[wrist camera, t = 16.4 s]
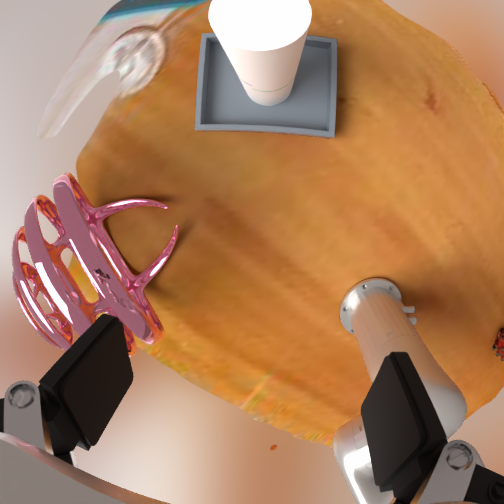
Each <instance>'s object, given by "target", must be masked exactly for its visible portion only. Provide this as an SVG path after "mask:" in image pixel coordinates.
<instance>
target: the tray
mask: <svg viewBox="0 0 504 504" xmlns="http://www.w3.org/2000/svg"><path fill="white" fill-rule="evenodd" d="M336 92H337V39H332V38H326V37H318V36H310V35H307V36H306V40H305V43H304V47H303V50H302V54H301V57H300V61H299V65H298V68H297V72H296V75H295V79H294V82H293V86H292V90H291V92H290V95H289V96H288V98H287V99H286V100H285V101H283V102H282V103H280V104H277V105H273V106H264V105H260V104H258V103H256V102H254V101H253V100H252V99H251V98H250V97H249V96H248V94H247V92H246V90H245V89H244V87H243V85H242V83H241V81H240V79H239V77H238V75H237V73H236V71H235V69H234V67H233V65H232V64H231V62H230V60H229V58H228V56H227V54H226V53H225V51H224V49H223V47H222V45H221V43H220V42H219V40H218V38H217V36H216V34H215V33H204V34H202V36H201V46H200V57H199V69H198V82H197V96H196V114H195V130H197V131H228V132H259V133H276V134H290V135H301V136H311V137H320V138H328V139H330V138H334V136H335V118H336Z"/></svg>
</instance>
